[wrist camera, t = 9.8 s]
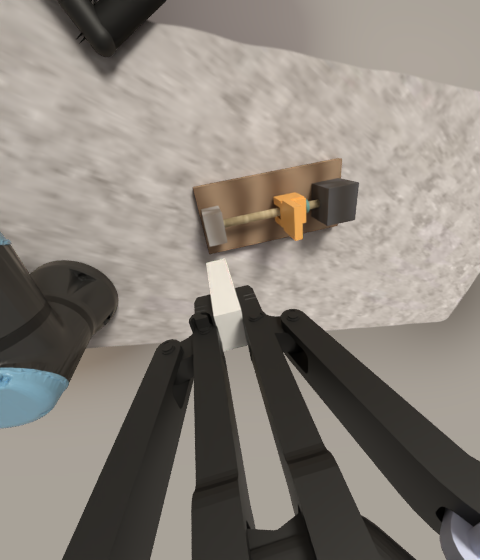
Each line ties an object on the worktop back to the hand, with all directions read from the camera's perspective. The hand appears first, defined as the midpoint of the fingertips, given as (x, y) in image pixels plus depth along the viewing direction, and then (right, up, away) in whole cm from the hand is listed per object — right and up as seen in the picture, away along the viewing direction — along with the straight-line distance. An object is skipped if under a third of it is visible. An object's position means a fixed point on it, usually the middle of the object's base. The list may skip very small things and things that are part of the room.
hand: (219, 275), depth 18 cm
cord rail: (+7, +13, +25) cm, 29 cm away
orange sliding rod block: (+10, +13, +23) cm, 28 cm away
